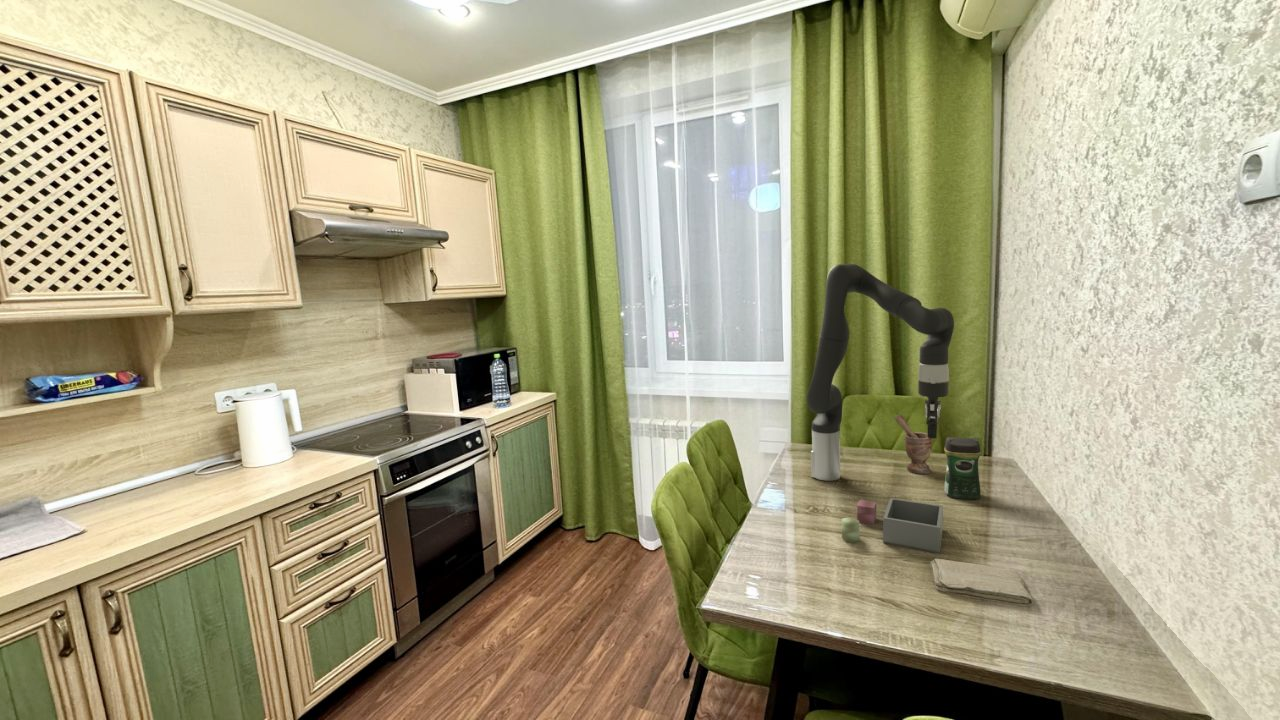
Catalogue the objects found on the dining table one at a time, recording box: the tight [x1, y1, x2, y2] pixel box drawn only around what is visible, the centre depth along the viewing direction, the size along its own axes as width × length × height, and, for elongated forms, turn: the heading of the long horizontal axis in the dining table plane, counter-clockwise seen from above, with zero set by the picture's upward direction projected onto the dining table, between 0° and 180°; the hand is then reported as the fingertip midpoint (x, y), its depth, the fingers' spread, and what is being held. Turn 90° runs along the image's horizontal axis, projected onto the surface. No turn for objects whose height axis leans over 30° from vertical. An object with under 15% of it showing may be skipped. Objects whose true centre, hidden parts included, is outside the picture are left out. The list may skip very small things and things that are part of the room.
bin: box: [882, 497, 944, 555], centre depth 137 cm, size 13×14×7 cm
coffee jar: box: [943, 436, 982, 500], centre depth 158 cm, size 10×8×19 cm
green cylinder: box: [841, 517, 860, 544], centre depth 138 cm, size 4×4×5 cm
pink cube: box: [856, 499, 877, 525], centre depth 148 cm, size 4×4×5 cm
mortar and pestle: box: [894, 414, 933, 475], centre depth 181 cm, size 12×9×20 cm
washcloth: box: [930, 558, 1035, 607], centre depth 115 cm, size 12×18×3 cm, turn 67°
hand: (932, 433), depth 147 cm, fingers open, 8 cm apart
